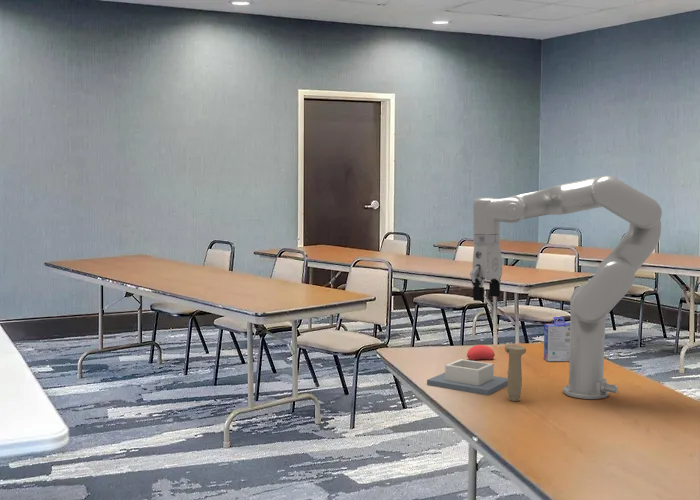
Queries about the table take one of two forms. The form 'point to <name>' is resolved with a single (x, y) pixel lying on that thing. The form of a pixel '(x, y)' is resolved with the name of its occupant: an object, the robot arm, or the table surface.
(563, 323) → the ink cartridge box
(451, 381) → the socket
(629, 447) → the table surface
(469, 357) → the red bean shape
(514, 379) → the handle
